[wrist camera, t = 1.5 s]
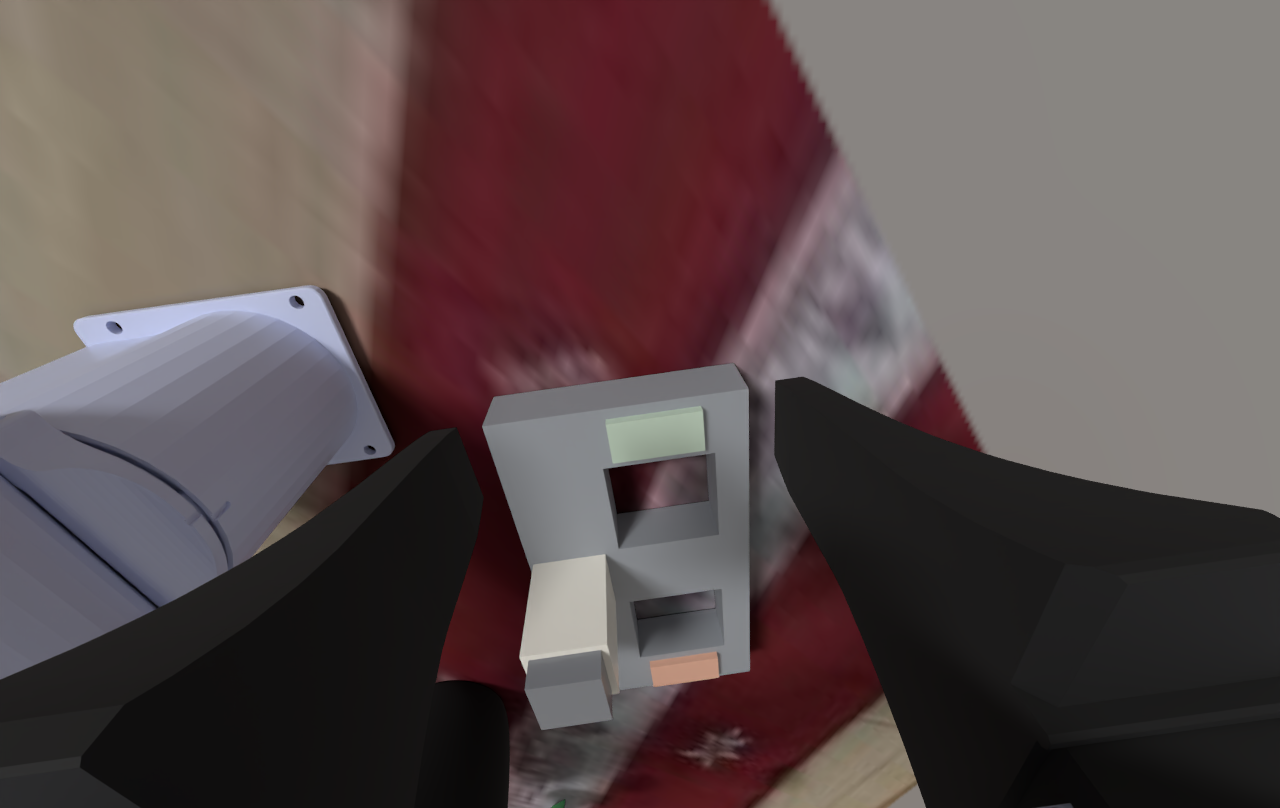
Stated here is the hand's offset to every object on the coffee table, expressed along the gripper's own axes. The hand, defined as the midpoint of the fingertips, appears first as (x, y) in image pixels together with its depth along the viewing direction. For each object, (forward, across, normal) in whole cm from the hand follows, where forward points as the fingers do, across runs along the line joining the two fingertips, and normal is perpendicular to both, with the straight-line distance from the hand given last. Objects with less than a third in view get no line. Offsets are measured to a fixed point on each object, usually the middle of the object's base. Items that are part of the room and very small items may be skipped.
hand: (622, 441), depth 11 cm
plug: (+8, +4, +14) cm, 16 cm away
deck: (+10, +1, +14) cm, 17 cm away
